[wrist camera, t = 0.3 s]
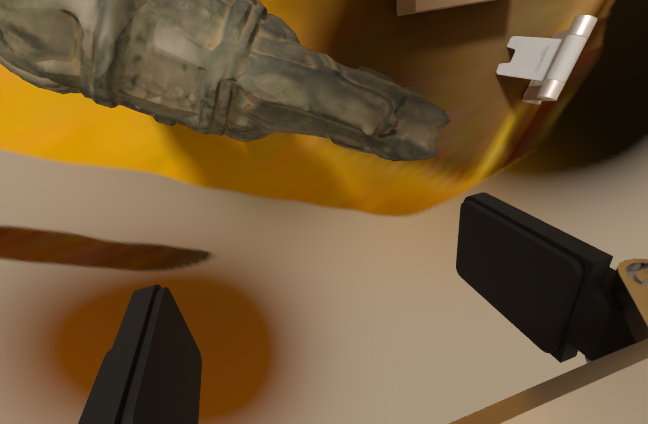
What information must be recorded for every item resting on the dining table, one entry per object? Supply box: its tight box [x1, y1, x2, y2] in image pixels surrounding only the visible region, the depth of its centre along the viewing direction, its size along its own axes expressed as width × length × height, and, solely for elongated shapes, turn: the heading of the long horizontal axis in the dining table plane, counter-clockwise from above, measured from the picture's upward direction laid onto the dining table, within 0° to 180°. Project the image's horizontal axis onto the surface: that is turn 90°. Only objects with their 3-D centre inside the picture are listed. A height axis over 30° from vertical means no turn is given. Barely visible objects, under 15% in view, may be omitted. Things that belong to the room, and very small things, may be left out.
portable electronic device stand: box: [496, 15, 597, 104], centre depth 39 cm, size 9×8×8 cm
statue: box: [0, 0, 450, 161], centre depth 23 cm, size 25×10×25 cm, turn 62°
